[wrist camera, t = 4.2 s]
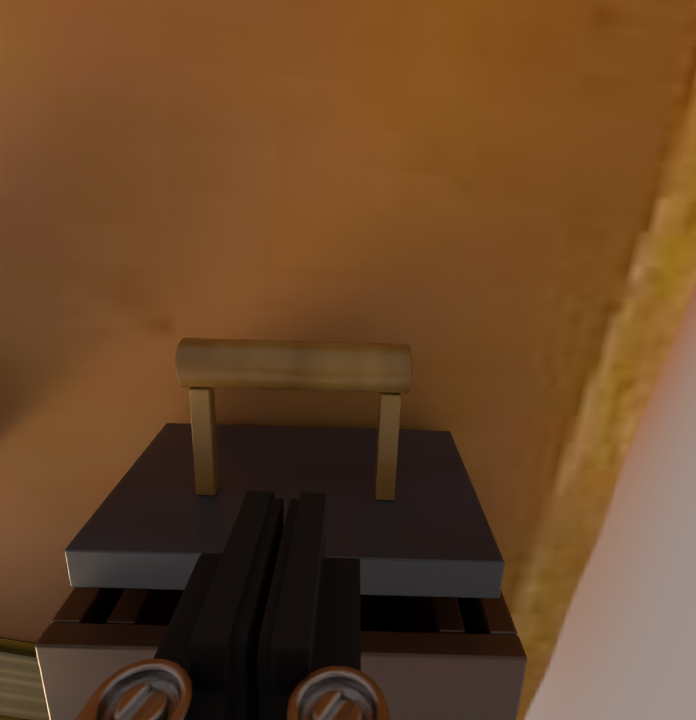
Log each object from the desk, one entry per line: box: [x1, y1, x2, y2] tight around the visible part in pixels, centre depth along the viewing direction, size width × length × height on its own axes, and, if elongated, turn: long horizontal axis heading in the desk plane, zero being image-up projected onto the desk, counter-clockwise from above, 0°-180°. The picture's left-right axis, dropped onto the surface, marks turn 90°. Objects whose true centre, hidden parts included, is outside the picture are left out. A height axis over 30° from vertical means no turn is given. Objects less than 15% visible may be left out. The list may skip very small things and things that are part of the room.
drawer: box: [65, 338, 504, 633], centre depth 19 cm, size 21×11×8 cm, turn 178°
